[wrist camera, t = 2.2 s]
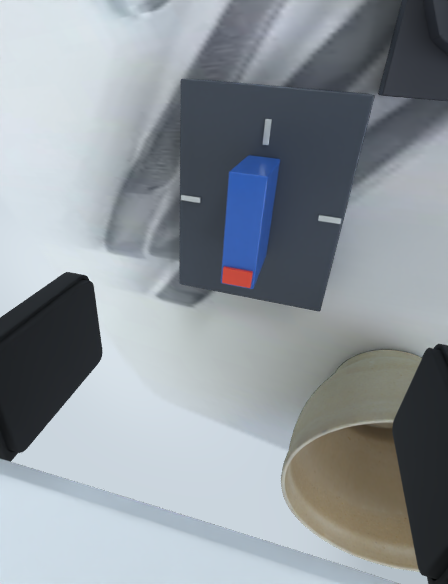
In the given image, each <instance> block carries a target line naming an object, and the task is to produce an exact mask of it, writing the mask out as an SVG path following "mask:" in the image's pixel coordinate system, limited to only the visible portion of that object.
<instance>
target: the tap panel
mask: <svg viewBox="0 0 448 584" xmlns="http://www.w3.org/2000/svg"><path fill="white" fill-rule="evenodd" d="M374 97H375V96H374V95H371V94H365V93H353V92H341V91H329V90H317V89H306V88H294V87H282V86H270V85H258V84H247V83H235V82H223V81H211V80H199V79H181V135H180V284H182V285H187V286H193V287H198V288H203V289H208V290H213V291H218V292H223V293H228V294H233V295H238V296H243V297H249V298H254V299H259V300H264V301H269V302H274V303H279V304H284V305H289V306H294V307H299V308H304V309H310V310H315V311H320V310H321V306H322V302H323V298H324V294H325V290H326V286H327V282H328V278H329V275H330V271H331V267H332V263H333V259H334V255H335V251H336V247H337V243H338V239H339V235H340V231H341V227H342V223H343V219H344V215H345V211H346V208H347V204H348V200H349V196H350V192H351V188H352V184H353V180H354V176H355V172H356V168H357V164H358V160H359V156H360V152H361V148H362V145H363V141H364V137H365V133H366V129H367V125H368V121H369V117H370V113H371V109H372V105H373V101H374ZM249 155H251V156H259V157H267V158H275V159H280V164H279V171H278V178H277V185H276V192H275V199H274V205H273V212H272V219H271V226H270V233H269V240H268V247H267V254H266V257H265V260H264V262H263V265H262V268H261V270H260V273H259V275H258V278H257V281H256V283H255V286H254V288H253V289H249V288H243V287H238V286H233V285H228V284H223V283H221V271H222V258H223V245H224V231H225V218H226V205H227V191H228V178H229V171H231V170H232V169H233V168H234V167H235V166H237V165H238V164H239V163H240V162H241V161H242V160H244V159H245V158H246V157H247V156H249Z"/></svg>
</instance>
